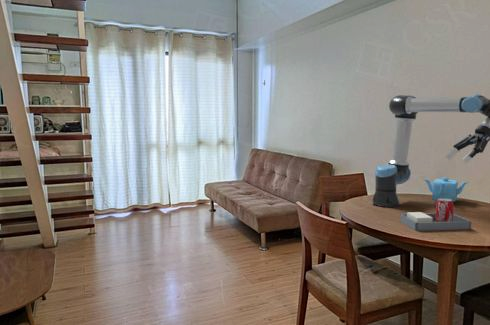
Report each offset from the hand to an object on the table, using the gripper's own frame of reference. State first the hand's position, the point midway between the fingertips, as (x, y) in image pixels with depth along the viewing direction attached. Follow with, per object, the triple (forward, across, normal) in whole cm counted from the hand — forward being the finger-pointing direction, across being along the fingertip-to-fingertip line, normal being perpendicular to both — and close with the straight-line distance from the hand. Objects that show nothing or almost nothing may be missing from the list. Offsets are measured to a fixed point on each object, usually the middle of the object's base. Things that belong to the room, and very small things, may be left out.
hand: (455, 160), depth 178 cm
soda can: (+30, -14, -11) cm, 35 cm away
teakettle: (+10, +34, -32) cm, 48 cm away
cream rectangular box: (+38, -15, -3) cm, 41 cm away
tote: (+34, -14, -8) cm, 38 cm away
